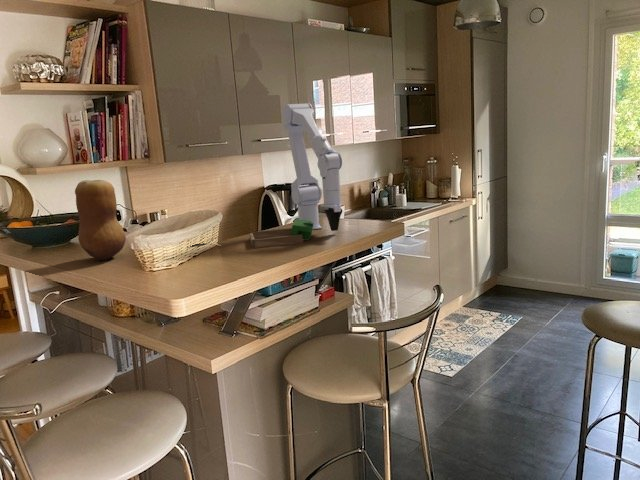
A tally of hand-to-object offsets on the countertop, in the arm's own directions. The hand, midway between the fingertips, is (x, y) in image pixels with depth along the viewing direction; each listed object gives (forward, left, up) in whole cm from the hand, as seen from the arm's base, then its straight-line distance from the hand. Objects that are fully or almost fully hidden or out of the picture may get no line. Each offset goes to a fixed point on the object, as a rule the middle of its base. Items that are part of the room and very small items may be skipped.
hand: (334, 230), depth 173 cm
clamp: (+1, -11, -2) cm, 11 cm away
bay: (0, -20, -1) cm, 20 cm away
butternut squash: (-2, -74, -2) cm, 74 cm away
